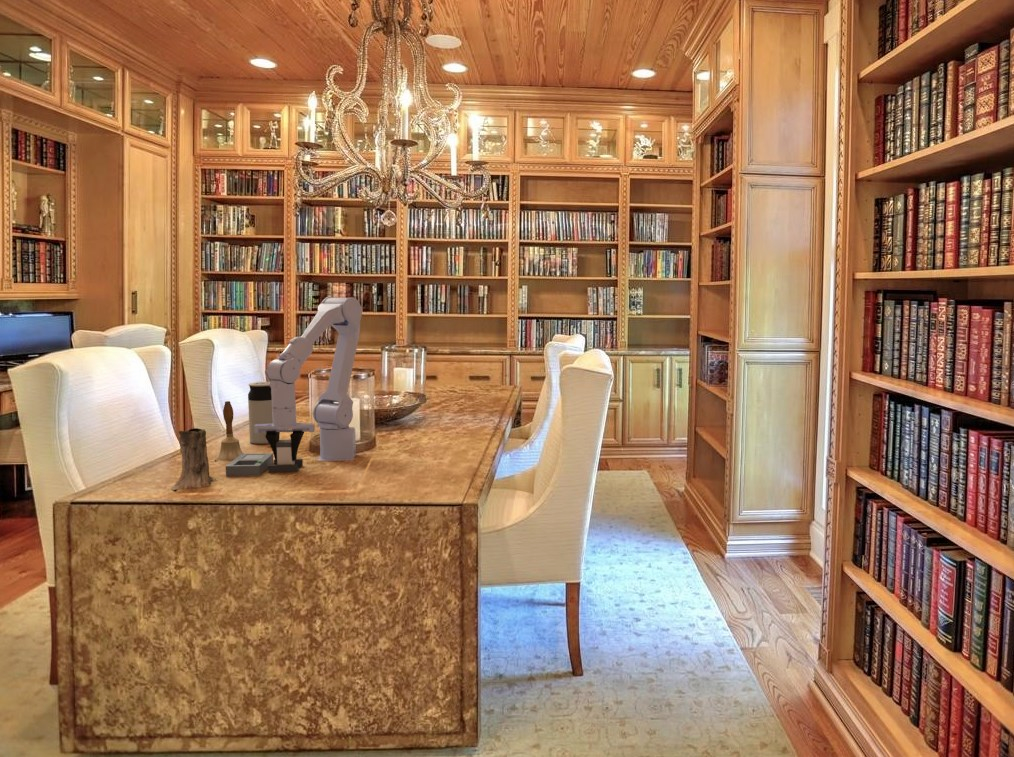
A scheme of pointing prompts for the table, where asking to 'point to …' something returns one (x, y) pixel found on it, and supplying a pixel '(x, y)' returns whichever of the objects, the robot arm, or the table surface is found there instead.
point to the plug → (284, 452)
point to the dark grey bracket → (286, 467)
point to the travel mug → (259, 409)
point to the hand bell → (229, 437)
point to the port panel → (249, 464)
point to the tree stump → (193, 460)
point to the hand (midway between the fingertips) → (285, 460)
